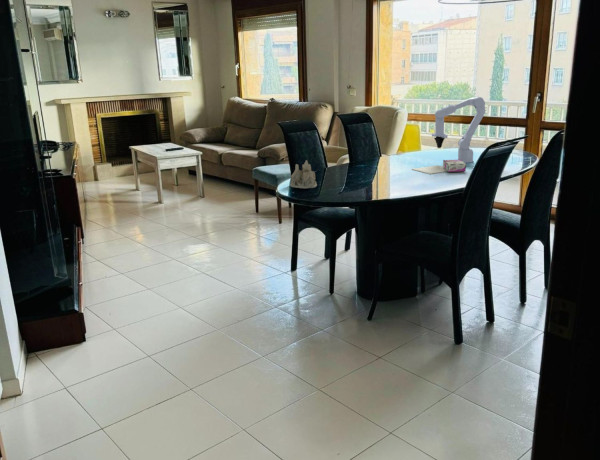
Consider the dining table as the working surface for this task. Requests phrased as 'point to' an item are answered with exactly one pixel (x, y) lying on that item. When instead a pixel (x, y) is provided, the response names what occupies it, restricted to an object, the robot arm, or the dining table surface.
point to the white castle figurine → (303, 177)
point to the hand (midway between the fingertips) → (439, 147)
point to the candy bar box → (454, 165)
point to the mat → (431, 169)
